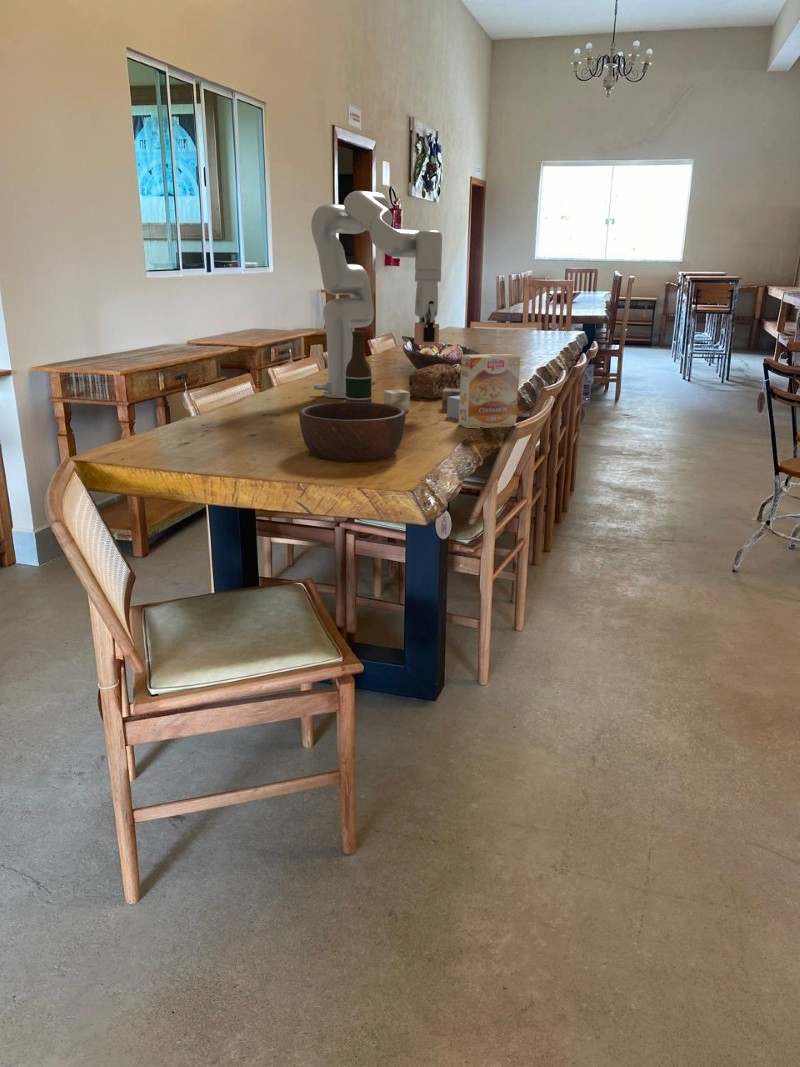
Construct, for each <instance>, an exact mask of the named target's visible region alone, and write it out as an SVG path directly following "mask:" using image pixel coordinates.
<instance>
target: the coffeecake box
mask: <svg viewBox="0 0 800 1067" xmlns="http://www.w3.org/2000/svg"><path fill="white" fill-rule="evenodd" d="M520 368H521V356H520V355H517V354H512V353H489V354H488V353H487V354H486V353H484V354H483V353H481V354H461V364H460V373H461V381H460V405H459V420H458V425H459V424H460V425H459V426H461V425H462V427H463V426H464V427H463V428H465V427H466V428H465V429H467V428H477V429H481V428H480V427H484V428H483V429H488V428H489V429H490V428H494V429H495V428H510V427H511V428H512V426H513V425H514V424H516V425H517V414H518V400H519V399H518V398H519V382H520V370H521V369H520Z"/></svg>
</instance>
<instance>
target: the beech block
mask: <svg viewBox="0 0 800 1067" xmlns="http://www.w3.org/2000/svg"><path fill="white" fill-rule="evenodd" d="M410 397H411V395H410V391H407V390H404V389H388V390H383V404H387V405H393V406H396V407H399V408H402V409H403V410H404V411H405V413H408V412H407V411H409V412H410V401H411V400H410Z"/></svg>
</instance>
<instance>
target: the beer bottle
mask: <svg viewBox="0 0 800 1067" xmlns="http://www.w3.org/2000/svg"><path fill="white" fill-rule="evenodd" d="M351 332H352V335H353V345H352V357H351V360H350V361H349V363H348V365H347V368H346V398H345V402H369V403H372V369H371V366H370V364H369V362H368V361H367V359H366V350H365V335H366V334H365V331H363V330H353V331H351Z"/></svg>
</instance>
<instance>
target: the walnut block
mask: <svg viewBox="0 0 800 1067" xmlns="http://www.w3.org/2000/svg"><path fill="white" fill-rule="evenodd" d="M451 396H460V389H452V388H444V390H443V391H442V397H441V398H442V399H441V401H442V402H441V411H446V410H447V401H448V397H451Z"/></svg>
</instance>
